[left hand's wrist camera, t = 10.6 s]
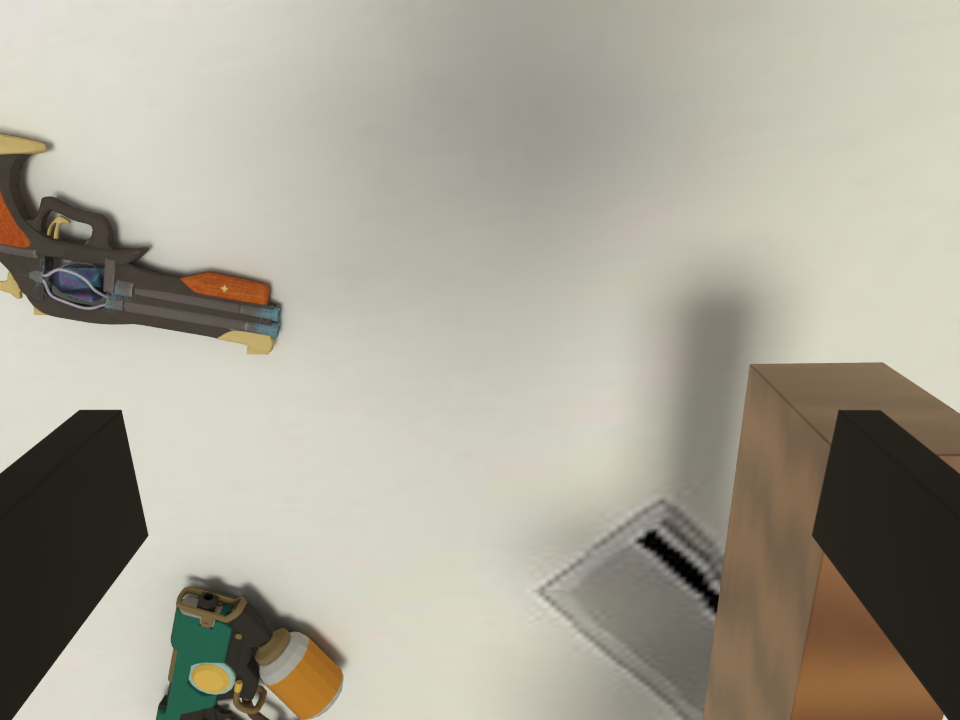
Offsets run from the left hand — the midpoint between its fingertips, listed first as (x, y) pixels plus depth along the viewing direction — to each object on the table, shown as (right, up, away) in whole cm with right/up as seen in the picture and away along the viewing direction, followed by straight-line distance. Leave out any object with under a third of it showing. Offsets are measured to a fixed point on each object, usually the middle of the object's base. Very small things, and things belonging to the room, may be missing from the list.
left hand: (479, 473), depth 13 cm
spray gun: (-18, -22, +40) cm, 50 cm away
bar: (+15, -9, +21) cm, 27 cm away
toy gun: (-21, +9, +28) cm, 36 cm away
